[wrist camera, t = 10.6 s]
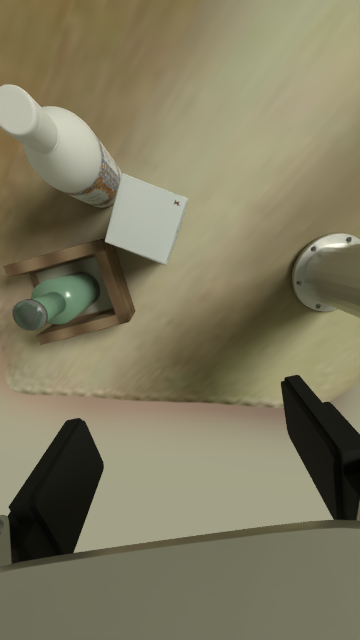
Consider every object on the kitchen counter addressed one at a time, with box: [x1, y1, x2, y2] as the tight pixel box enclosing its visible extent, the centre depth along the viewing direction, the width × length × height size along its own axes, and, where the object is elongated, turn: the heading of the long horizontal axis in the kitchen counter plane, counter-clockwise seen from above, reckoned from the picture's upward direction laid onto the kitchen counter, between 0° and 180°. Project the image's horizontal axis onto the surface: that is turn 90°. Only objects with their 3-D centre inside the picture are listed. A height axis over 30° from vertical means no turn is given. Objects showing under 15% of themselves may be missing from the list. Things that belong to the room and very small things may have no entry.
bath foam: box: [0, 85, 122, 208], centre depth 26 cm, size 7×7×20 cm
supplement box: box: [105, 173, 188, 265], centre depth 31 cm, size 7×7×13 cm
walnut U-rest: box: [3, 239, 135, 344], centre depth 37 cm, size 14×12×6 cm
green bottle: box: [13, 272, 100, 331], centre depth 31 cm, size 6×6×15 cm
